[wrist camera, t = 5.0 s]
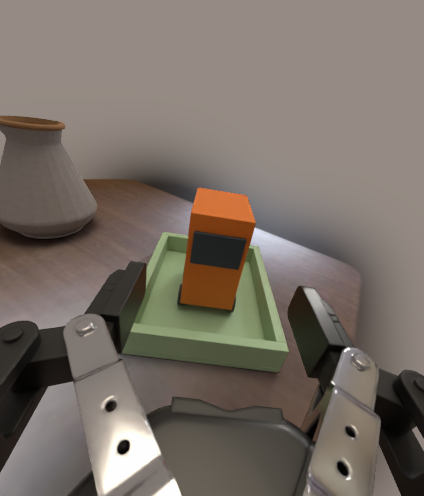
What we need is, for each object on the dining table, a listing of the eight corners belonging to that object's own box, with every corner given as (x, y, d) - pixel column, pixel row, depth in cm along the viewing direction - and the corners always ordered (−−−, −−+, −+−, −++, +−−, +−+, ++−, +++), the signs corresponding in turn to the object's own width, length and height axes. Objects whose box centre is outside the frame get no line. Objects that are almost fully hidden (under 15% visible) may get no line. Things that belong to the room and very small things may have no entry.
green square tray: (162, 249, 31) (163, 231, 30) (253, 263, 32) (258, 246, 31) (119, 353, 18) (117, 329, 16) (278, 372, 19) (289, 352, 17)
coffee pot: (116, 225, 35) (109, 110, 27) (34, 258, 26) (-10, 98, 18) (28, 187, 42) (3, 87, 34) (-62, 202, 33) (-123, 70, 25)
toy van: (184, 270, 27) (194, 186, 22) (229, 276, 28) (250, 195, 23) (175, 313, 21) (186, 213, 16) (232, 320, 22) (260, 225, 17)
